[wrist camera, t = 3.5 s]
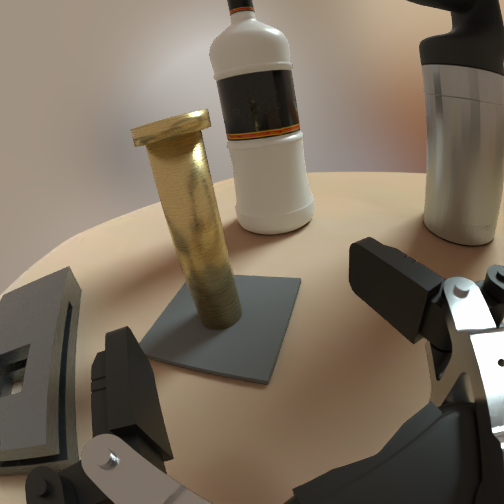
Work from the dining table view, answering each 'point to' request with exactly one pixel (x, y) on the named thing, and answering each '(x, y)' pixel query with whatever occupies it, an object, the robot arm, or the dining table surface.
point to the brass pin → (192, 213)
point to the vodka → (261, 124)
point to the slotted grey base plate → (39, 374)
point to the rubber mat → (227, 331)
